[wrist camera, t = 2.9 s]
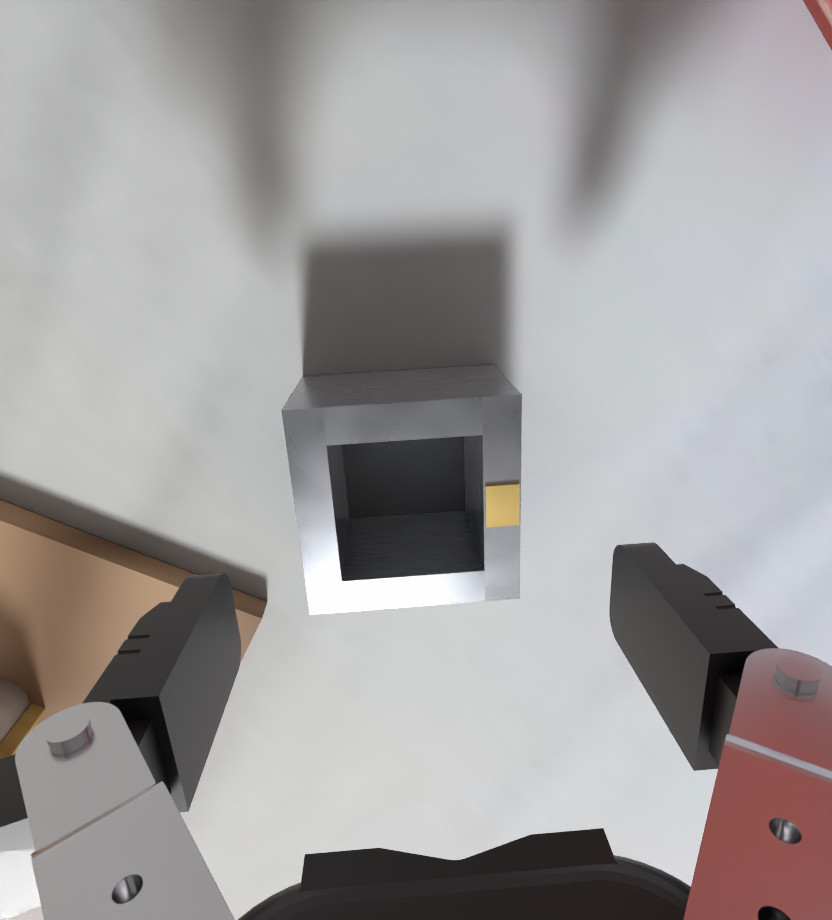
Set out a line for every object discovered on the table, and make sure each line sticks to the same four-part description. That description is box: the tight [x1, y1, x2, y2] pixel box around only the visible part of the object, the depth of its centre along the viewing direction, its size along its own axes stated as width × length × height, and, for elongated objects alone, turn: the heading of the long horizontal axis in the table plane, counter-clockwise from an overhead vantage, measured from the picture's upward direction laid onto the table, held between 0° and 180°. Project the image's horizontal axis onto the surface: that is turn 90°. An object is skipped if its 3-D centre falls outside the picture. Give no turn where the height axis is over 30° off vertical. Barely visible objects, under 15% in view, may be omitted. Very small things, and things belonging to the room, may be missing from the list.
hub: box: [282, 364, 522, 615], centre depth 17 cm, size 6×6×4 cm
